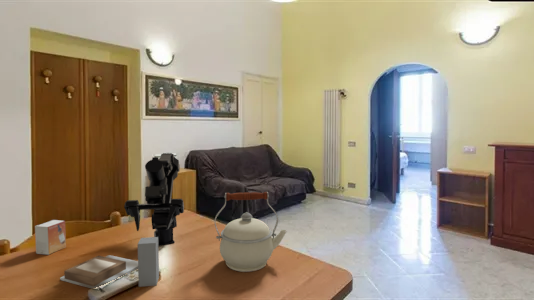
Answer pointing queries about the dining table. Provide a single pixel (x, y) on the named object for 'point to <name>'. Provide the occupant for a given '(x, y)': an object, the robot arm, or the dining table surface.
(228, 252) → the kettle
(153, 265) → the post
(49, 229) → the small box
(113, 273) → the plinth
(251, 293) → the dining table surface
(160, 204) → the robot arm
